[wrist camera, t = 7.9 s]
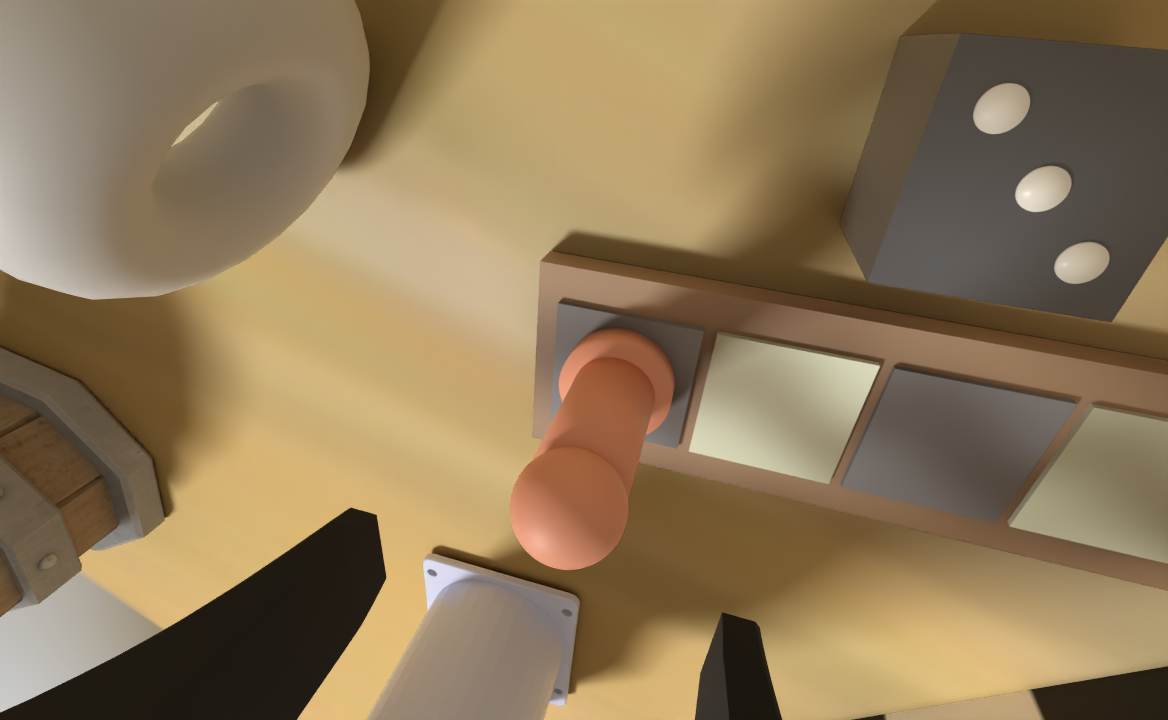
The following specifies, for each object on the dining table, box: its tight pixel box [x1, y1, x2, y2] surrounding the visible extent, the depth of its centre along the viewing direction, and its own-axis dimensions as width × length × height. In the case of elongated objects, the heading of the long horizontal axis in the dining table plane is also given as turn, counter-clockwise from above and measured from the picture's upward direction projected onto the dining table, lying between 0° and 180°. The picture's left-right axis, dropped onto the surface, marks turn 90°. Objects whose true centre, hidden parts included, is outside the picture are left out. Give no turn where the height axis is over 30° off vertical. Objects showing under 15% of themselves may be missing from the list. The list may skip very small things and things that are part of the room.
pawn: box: [510, 328, 675, 570], centre depth 15 cm, size 4×4×7 cm
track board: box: [532, 251, 1168, 591], centre depth 17 cm, size 7×21×1 cm, turn 85°
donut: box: [0, 0, 370, 300], centre depth 13 cm, size 10×4×10 cm, turn 141°
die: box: [839, 33, 1168, 322], centre depth 12 cm, size 4×5×5 cm
